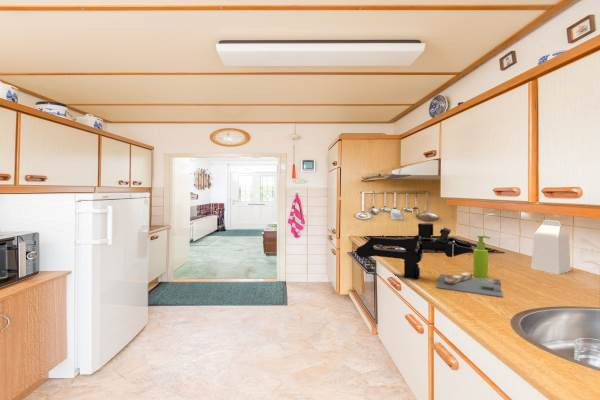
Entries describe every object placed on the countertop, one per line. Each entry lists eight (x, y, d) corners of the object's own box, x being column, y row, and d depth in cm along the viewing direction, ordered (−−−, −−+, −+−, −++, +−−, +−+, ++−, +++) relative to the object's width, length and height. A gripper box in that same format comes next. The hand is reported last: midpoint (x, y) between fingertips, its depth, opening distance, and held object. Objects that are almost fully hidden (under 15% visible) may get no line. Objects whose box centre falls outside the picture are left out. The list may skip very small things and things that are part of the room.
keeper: (481, 290, 122) (481, 280, 122) (480, 286, 127) (481, 277, 127) (500, 293, 119) (500, 282, 119) (499, 289, 124) (499, 279, 123)
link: (451, 285, 128) (451, 278, 127) (442, 282, 131) (442, 276, 131) (473, 278, 136) (473, 272, 136) (464, 276, 140) (464, 270, 140)
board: (436, 288, 126) (436, 286, 126) (440, 274, 145) (440, 273, 145) (503, 297, 114) (503, 296, 114) (497, 281, 133) (497, 280, 133)
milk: (531, 268, 154) (531, 220, 153) (543, 265, 159) (543, 218, 158) (558, 274, 144) (559, 222, 143) (570, 271, 148) (571, 220, 147)
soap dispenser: (487, 279, 137) (488, 237, 136) (471, 276, 142) (472, 235, 141) (491, 276, 141) (492, 236, 140) (475, 273, 146) (476, 234, 145)
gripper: (431, 230, 129) (472, 233, 121) (435, 225, 145) (471, 227, 137) (431, 255, 129) (472, 259, 121) (435, 247, 145) (471, 250, 138)
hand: (471, 248), depth 129 cm, fingers open, 9 cm apart
